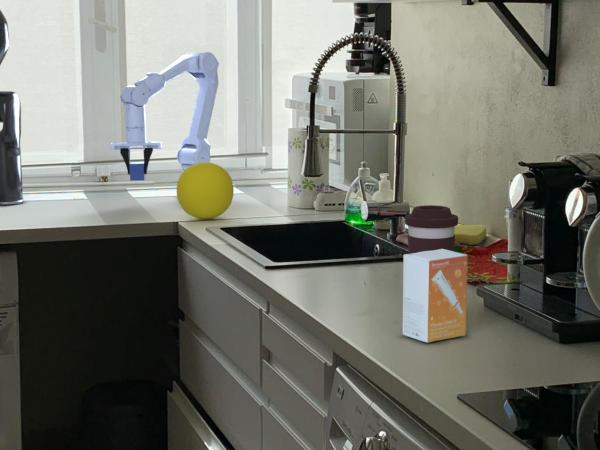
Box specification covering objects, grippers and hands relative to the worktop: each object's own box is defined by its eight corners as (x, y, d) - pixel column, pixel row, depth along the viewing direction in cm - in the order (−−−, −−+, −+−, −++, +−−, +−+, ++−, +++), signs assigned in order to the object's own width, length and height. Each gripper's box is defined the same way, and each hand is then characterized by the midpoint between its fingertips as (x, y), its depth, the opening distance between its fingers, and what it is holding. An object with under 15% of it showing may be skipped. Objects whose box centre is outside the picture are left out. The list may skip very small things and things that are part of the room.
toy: (224, 212, 289) (223, 158, 287) (240, 220, 275) (239, 164, 273) (171, 216, 284) (169, 161, 282) (185, 224, 270) (183, 166, 268)
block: (130, 180, 303) (129, 163, 302) (131, 178, 308) (130, 162, 307) (144, 180, 303) (143, 163, 303) (145, 178, 308) (144, 161, 307)
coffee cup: (400, 280, 202) (400, 204, 200) (450, 279, 203) (451, 203, 201) (409, 292, 193) (410, 212, 190) (462, 291, 193) (463, 211, 191)
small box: (427, 344, 159) (428, 260, 157) (401, 334, 164) (401, 253, 162) (467, 335, 164) (468, 254, 161) (440, 327, 169) (441, 247, 167)
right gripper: (108, 128, 299) (110, 176, 301) (159, 128, 299) (161, 175, 302) (111, 127, 306) (113, 173, 308) (161, 126, 306) (163, 172, 309)
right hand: (137, 174), depth 305 cm, fingers closed on block, 4 cm apart
